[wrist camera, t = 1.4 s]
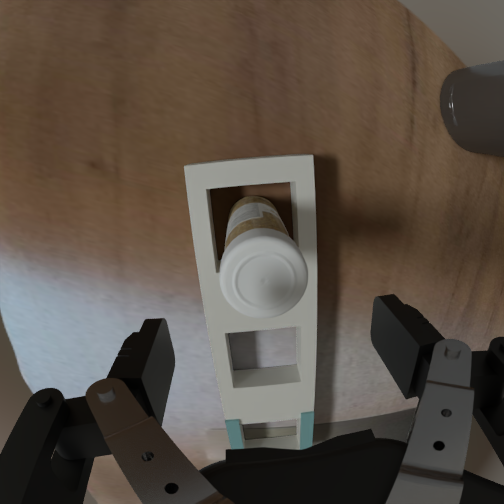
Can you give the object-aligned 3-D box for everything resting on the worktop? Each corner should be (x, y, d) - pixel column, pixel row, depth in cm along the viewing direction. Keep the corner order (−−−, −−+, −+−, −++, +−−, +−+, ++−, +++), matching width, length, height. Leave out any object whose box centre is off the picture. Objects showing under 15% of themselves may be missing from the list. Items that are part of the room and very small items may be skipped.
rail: (305, 153, 27) (313, 155, 24) (307, 441, 39) (310, 458, 36) (189, 163, 27) (183, 166, 24) (235, 448, 39) (235, 466, 36)
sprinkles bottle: (286, 231, 29) (322, 300, 17) (240, 252, 30) (242, 334, 17) (266, 185, 28) (290, 222, 15) (218, 207, 28) (202, 261, 16)
